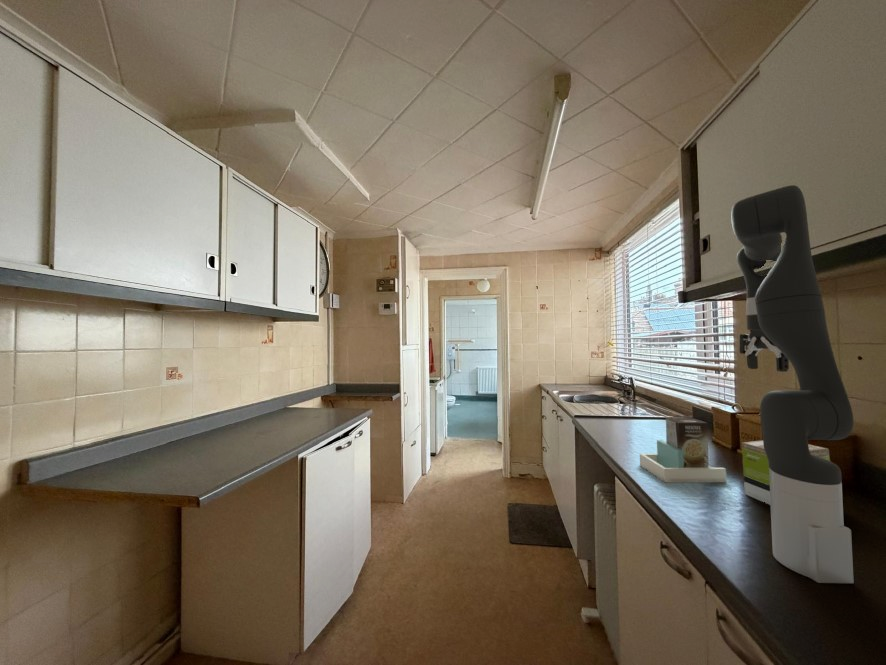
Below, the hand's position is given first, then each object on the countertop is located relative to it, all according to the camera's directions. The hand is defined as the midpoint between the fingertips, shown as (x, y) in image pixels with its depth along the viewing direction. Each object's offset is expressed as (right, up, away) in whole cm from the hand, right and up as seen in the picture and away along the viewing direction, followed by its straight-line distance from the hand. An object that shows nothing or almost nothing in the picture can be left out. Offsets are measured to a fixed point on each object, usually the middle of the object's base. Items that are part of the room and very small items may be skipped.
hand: (766, 370), depth 90 cm
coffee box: (-14, -34, +12) cm, 38 cm away
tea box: (-1, -34, -6) cm, 35 cm away
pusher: (-19, -34, +12) cm, 40 cm away
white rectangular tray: (-16, -35, +12) cm, 40 cm away
